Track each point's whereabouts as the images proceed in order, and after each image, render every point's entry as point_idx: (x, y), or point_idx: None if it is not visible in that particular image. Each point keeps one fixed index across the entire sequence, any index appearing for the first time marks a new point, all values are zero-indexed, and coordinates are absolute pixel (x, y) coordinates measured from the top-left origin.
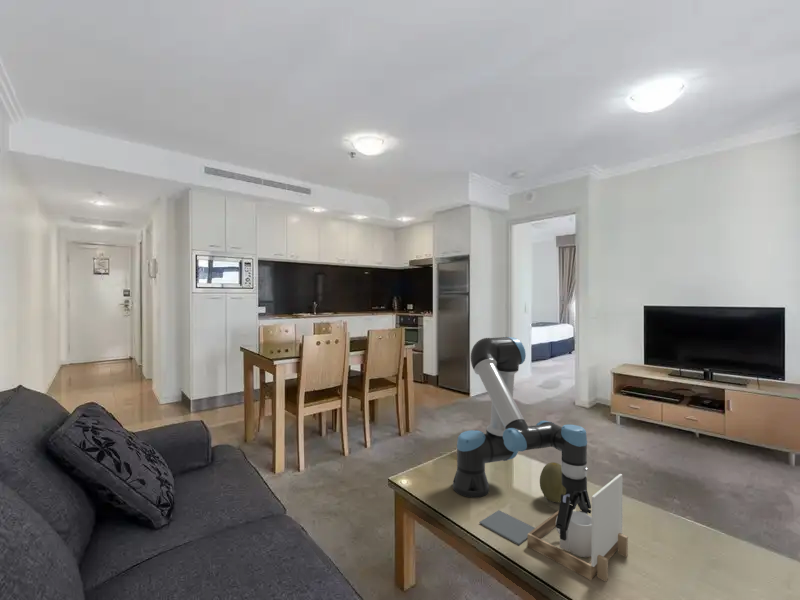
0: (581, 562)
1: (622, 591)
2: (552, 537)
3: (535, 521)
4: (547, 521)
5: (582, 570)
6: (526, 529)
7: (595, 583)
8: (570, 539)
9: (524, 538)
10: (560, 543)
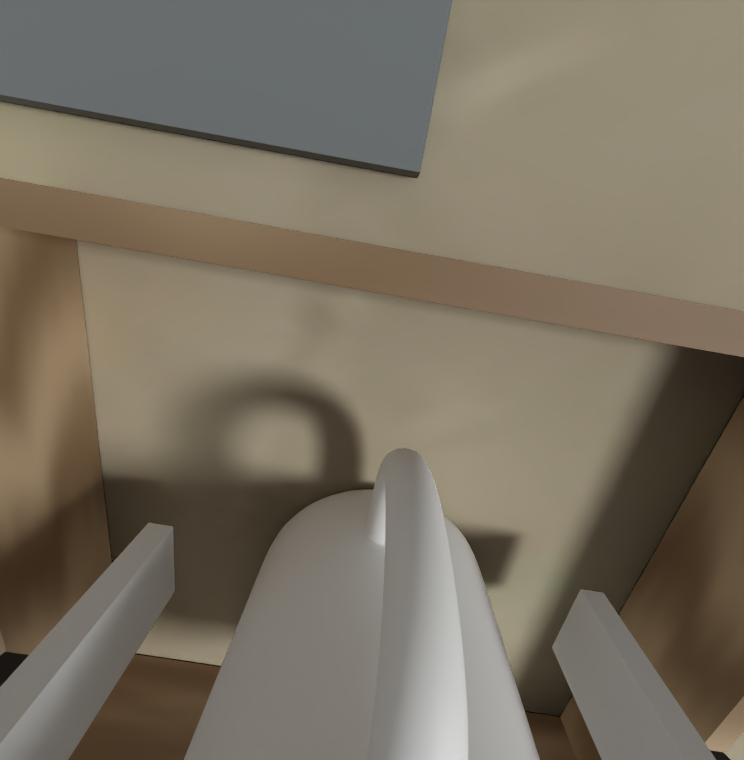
0: None
1: None
2: (396, 359)
3: (640, 47)
4: (479, 307)
5: None
6: (306, 19)
7: None
8: (229, 647)
9: (92, 96)
10: (117, 563)
